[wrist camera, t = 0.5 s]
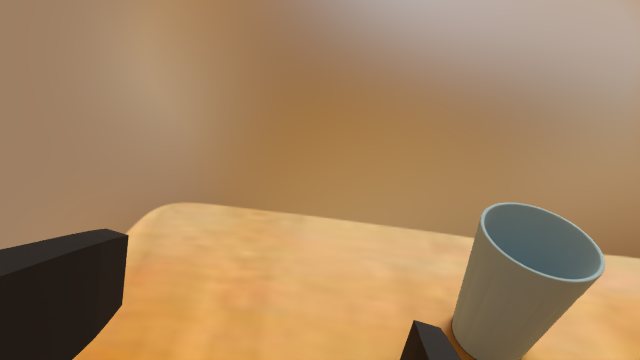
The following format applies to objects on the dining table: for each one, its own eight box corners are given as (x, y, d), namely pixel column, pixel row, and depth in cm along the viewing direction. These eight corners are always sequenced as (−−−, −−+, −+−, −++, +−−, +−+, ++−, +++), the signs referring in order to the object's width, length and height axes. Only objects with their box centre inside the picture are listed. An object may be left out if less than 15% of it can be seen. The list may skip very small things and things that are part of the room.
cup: (419, 335, 32) (462, 233, 26) (460, 283, 37) (503, 189, 31) (517, 404, 28) (591, 303, 22) (546, 335, 33) (613, 239, 28)
